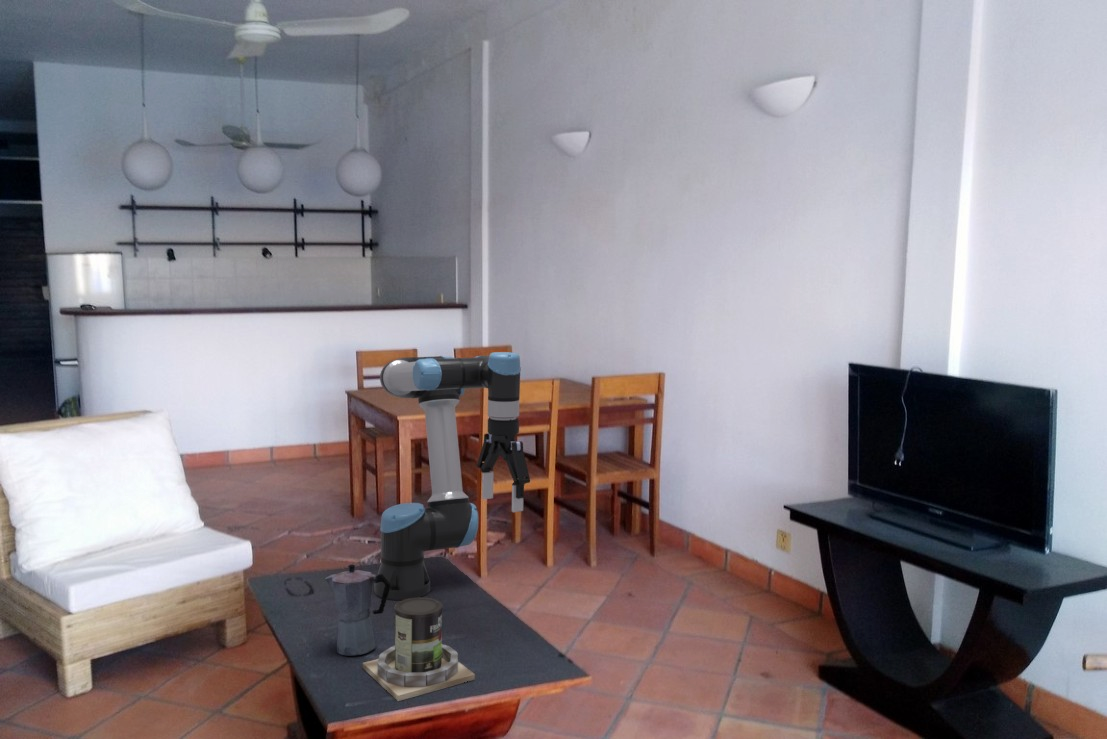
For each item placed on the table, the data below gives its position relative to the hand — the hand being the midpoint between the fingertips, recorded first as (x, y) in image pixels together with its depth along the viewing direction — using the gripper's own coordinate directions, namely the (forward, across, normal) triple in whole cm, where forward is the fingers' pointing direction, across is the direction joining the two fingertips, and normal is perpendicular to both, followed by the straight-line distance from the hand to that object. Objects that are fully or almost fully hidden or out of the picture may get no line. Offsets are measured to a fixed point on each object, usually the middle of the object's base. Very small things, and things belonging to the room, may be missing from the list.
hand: (502, 504), depth 212 cm
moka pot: (+32, +9, +33) cm, 47 cm away
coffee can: (+31, -10, +27) cm, 42 cm away
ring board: (+32, -10, +27) cm, 43 cm away
